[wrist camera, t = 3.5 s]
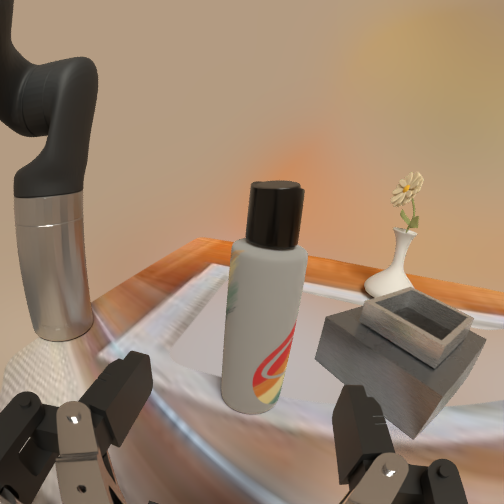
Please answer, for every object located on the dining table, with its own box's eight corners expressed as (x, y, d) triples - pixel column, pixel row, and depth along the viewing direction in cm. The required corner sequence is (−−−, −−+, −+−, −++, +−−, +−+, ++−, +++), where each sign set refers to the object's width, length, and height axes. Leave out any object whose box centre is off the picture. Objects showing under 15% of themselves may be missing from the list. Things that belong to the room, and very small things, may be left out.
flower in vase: (363, 282, 58) (384, 167, 51) (411, 293, 54) (436, 179, 47) (359, 306, 47) (387, 162, 39) (417, 320, 42) (452, 177, 35)
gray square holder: (314, 359, 32) (331, 294, 29) (388, 328, 40) (404, 277, 37) (413, 439, 19) (457, 371, 16) (467, 376, 26) (494, 321, 24)
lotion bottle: (290, 399, 25) (334, 188, 19) (245, 424, 21) (278, 182, 16) (253, 370, 29) (278, 178, 23) (209, 388, 25) (222, 174, 20)
